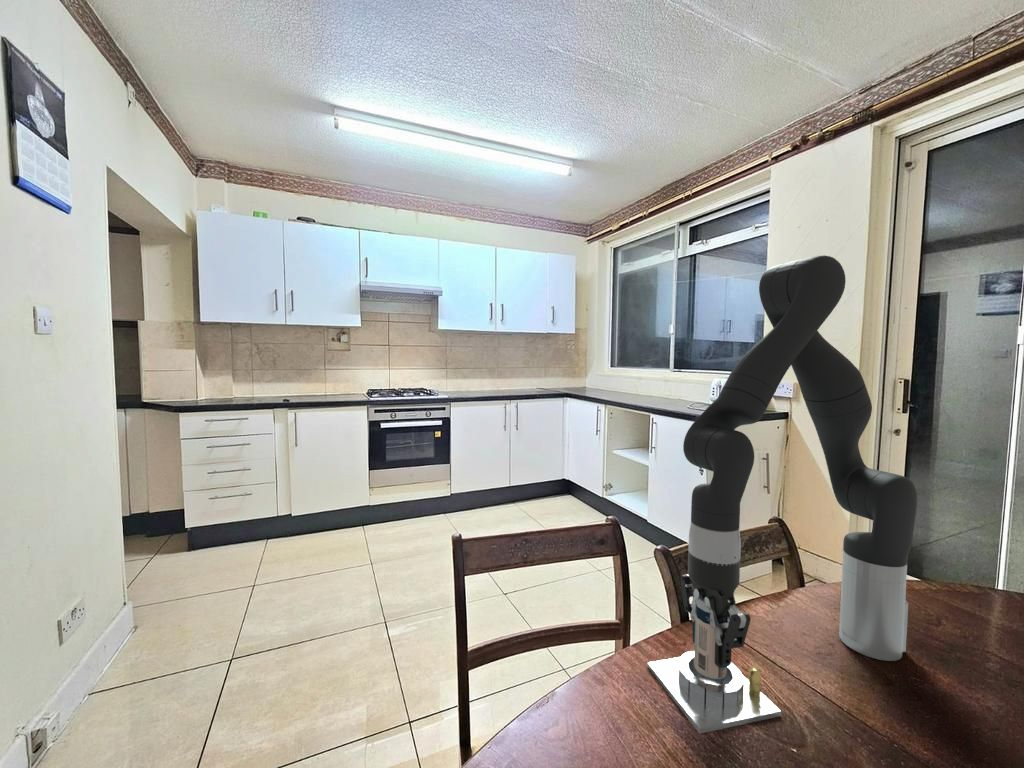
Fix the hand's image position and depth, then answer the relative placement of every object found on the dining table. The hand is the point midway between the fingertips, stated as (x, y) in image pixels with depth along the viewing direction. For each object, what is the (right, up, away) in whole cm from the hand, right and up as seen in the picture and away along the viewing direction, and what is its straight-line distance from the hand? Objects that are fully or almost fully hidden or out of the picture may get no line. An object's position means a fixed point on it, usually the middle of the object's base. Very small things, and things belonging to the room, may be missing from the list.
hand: (710, 653), depth 71 cm
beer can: (0, -3, 0) cm, 3 cm away
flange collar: (0, -6, 0) cm, 6 cm away
